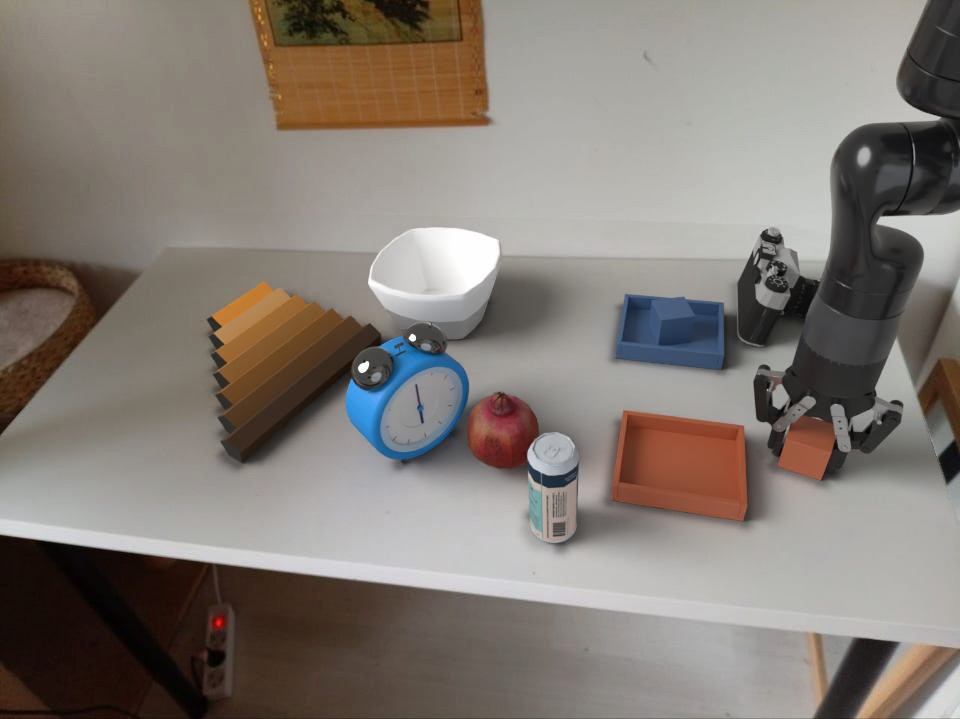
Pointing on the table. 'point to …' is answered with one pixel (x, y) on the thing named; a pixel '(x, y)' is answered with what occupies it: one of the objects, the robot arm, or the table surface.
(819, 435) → the terracotta block
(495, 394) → the fruit
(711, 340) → the blue tray
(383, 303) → the bowl
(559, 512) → the beer can
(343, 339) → the pan flute
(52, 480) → the table surface
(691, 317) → the blue block
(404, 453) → the alarm clock
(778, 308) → the camera
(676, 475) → the terracotta tray
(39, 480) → the table surface
